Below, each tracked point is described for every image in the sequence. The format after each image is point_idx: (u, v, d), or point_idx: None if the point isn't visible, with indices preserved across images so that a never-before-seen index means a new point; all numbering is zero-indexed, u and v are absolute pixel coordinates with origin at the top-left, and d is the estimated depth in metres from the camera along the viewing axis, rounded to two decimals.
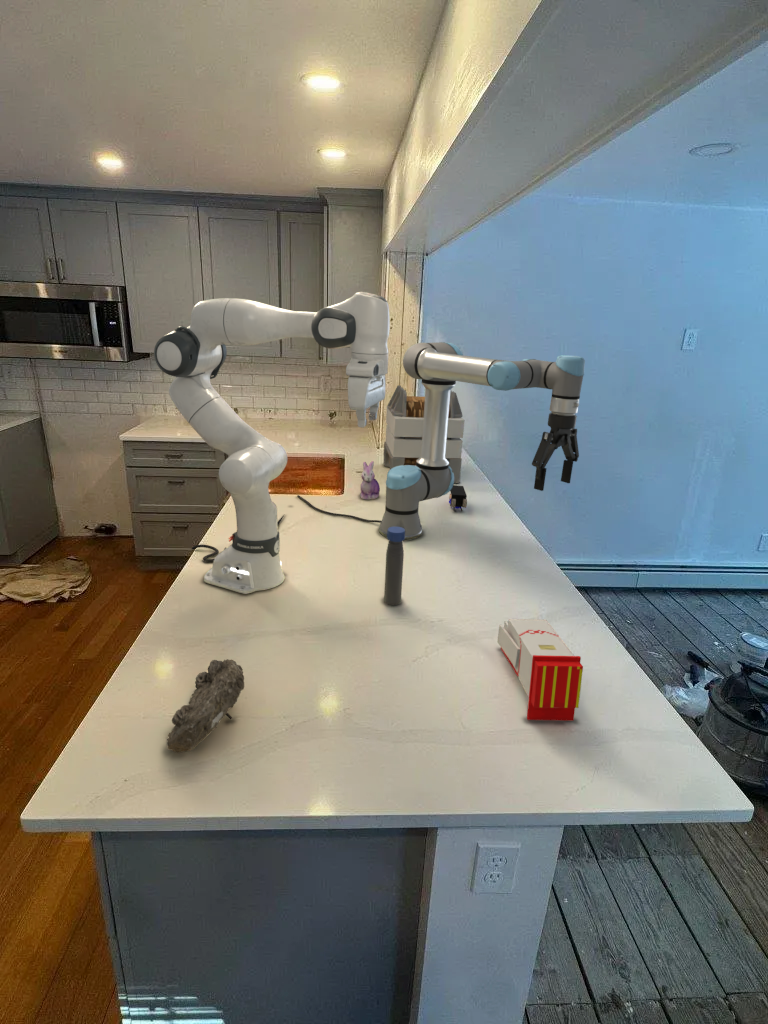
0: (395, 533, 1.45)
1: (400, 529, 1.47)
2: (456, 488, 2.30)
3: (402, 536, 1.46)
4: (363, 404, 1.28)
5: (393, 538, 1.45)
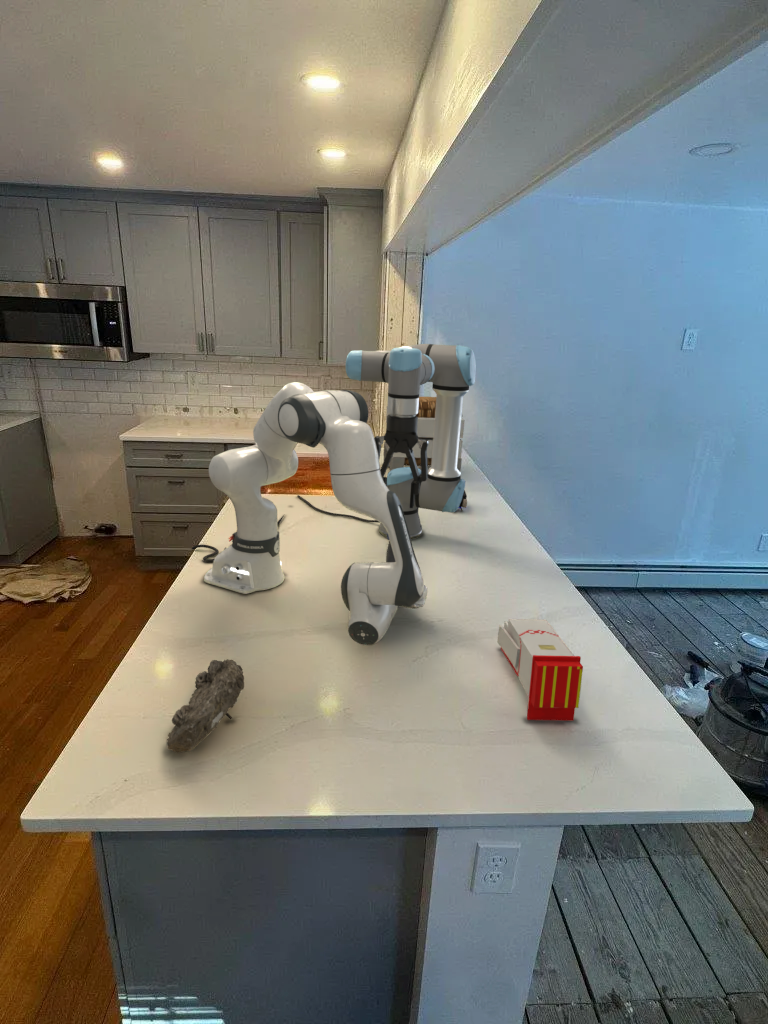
0: None
1: None
2: None
3: None
4: None
5: None
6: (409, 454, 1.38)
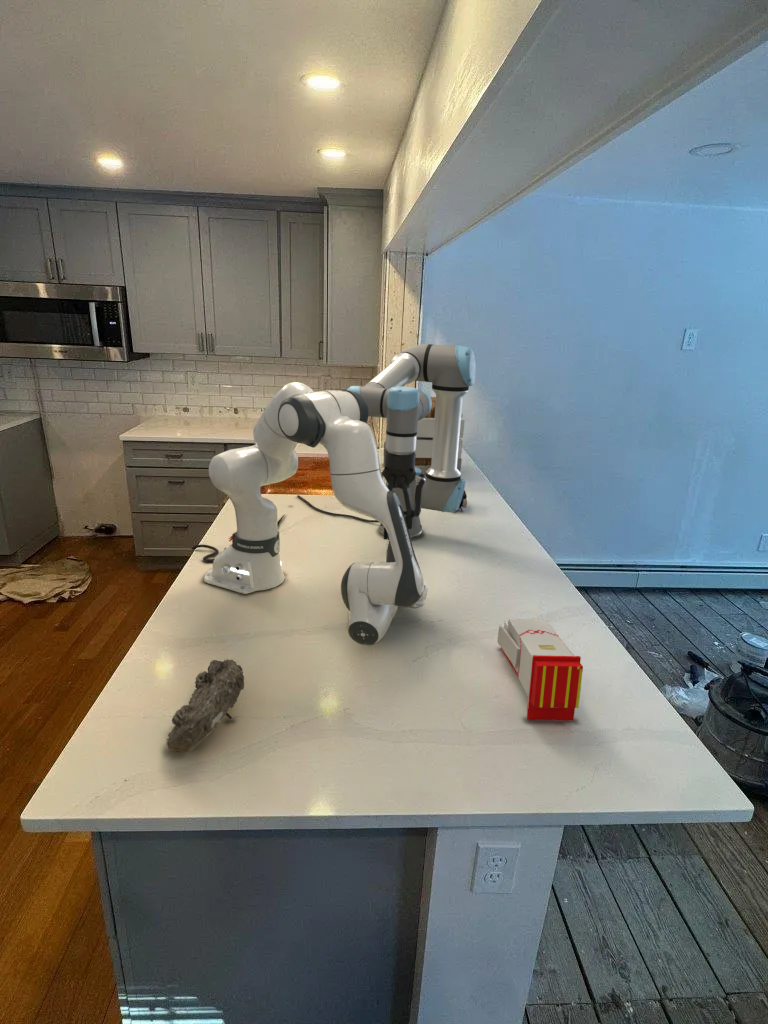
0: None
1: None
2: None
3: None
4: None
5: None
6: (406, 490, 1.41)
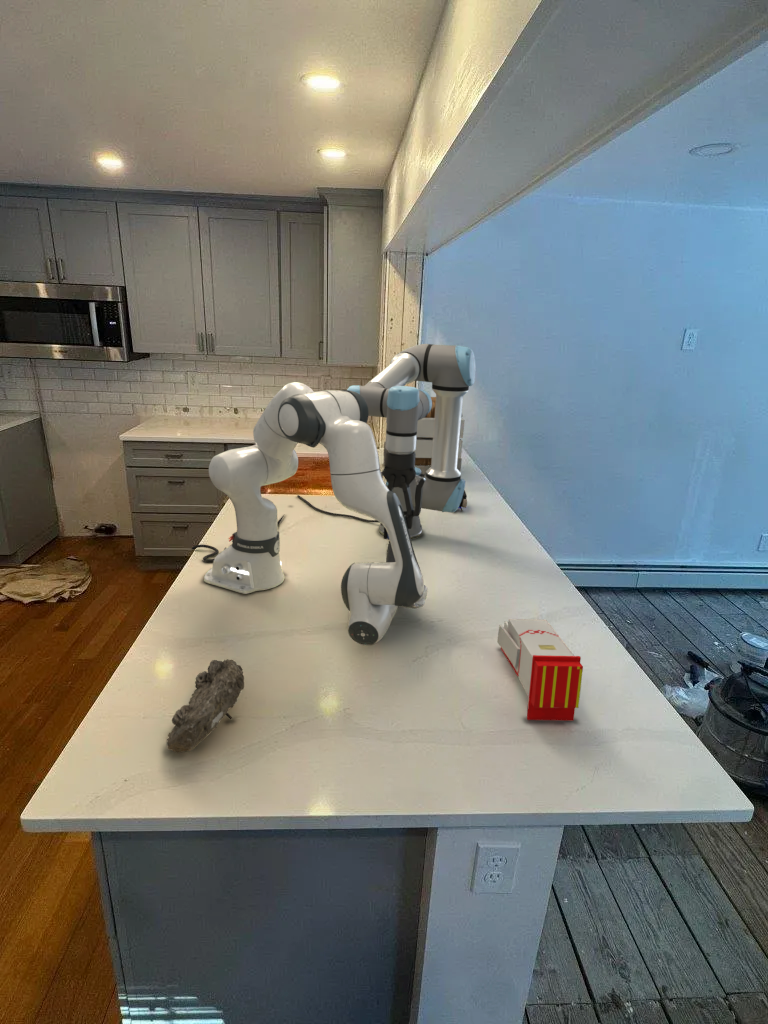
0: None
1: None
2: None
3: None
4: None
5: None
6: (406, 489, 1.41)
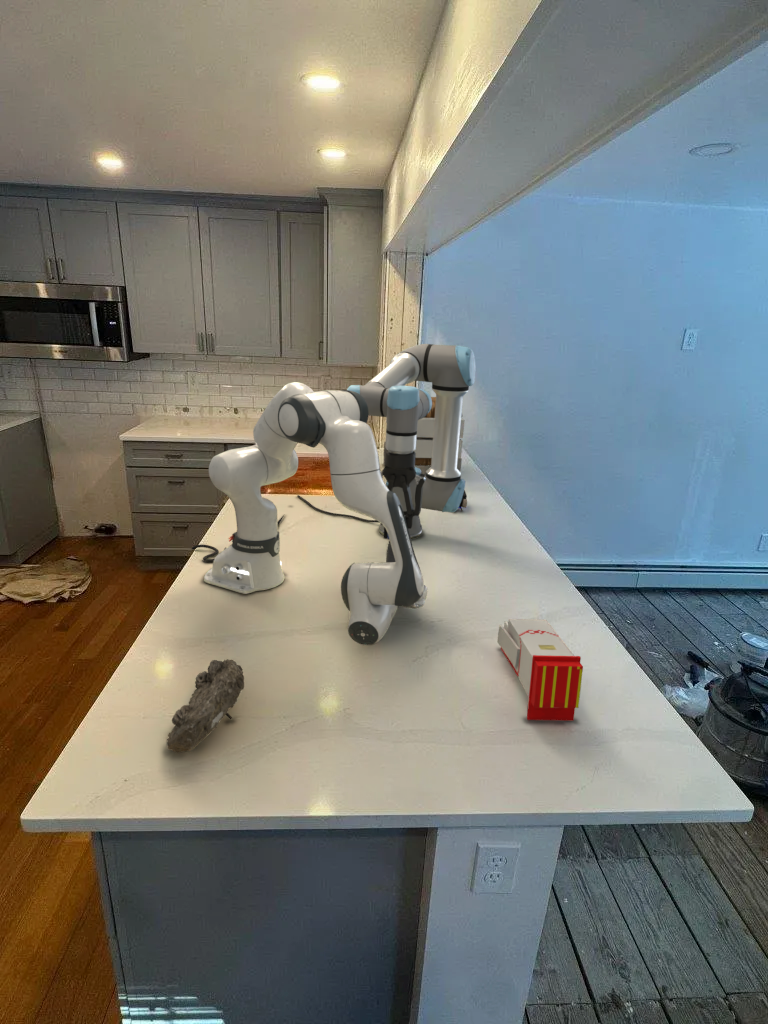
0: None
1: None
2: None
3: (387, 532, 1.47)
4: None
5: None
6: (406, 489, 1.41)
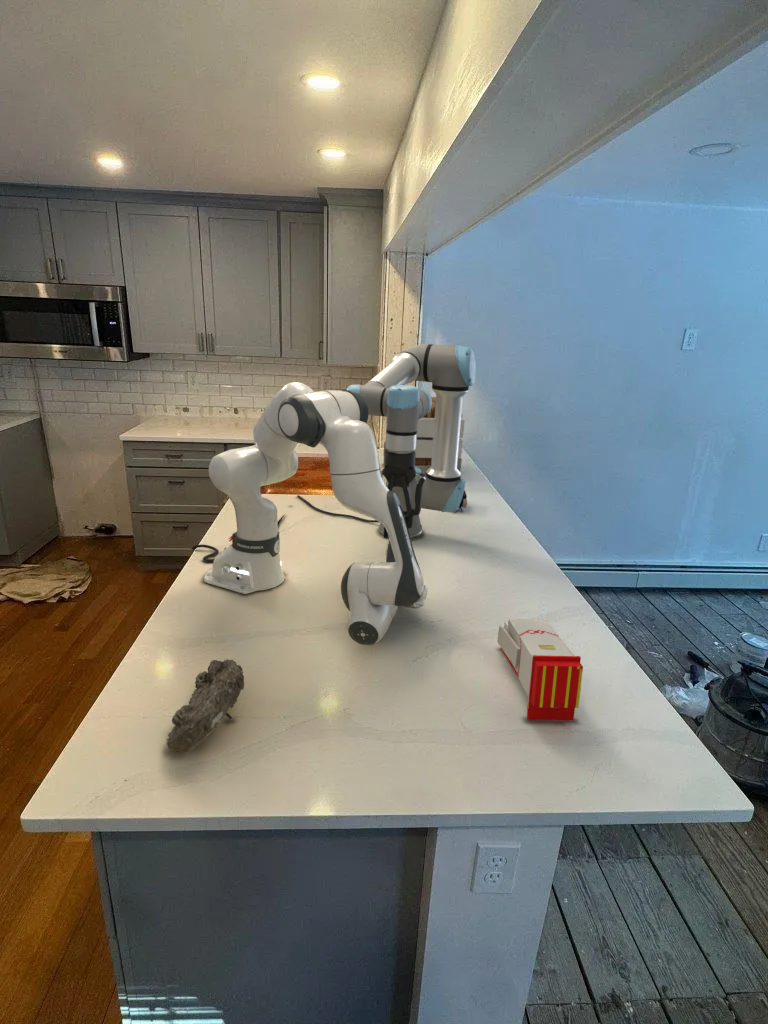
0: None
1: None
2: None
3: None
4: None
5: None
6: (406, 489, 1.41)
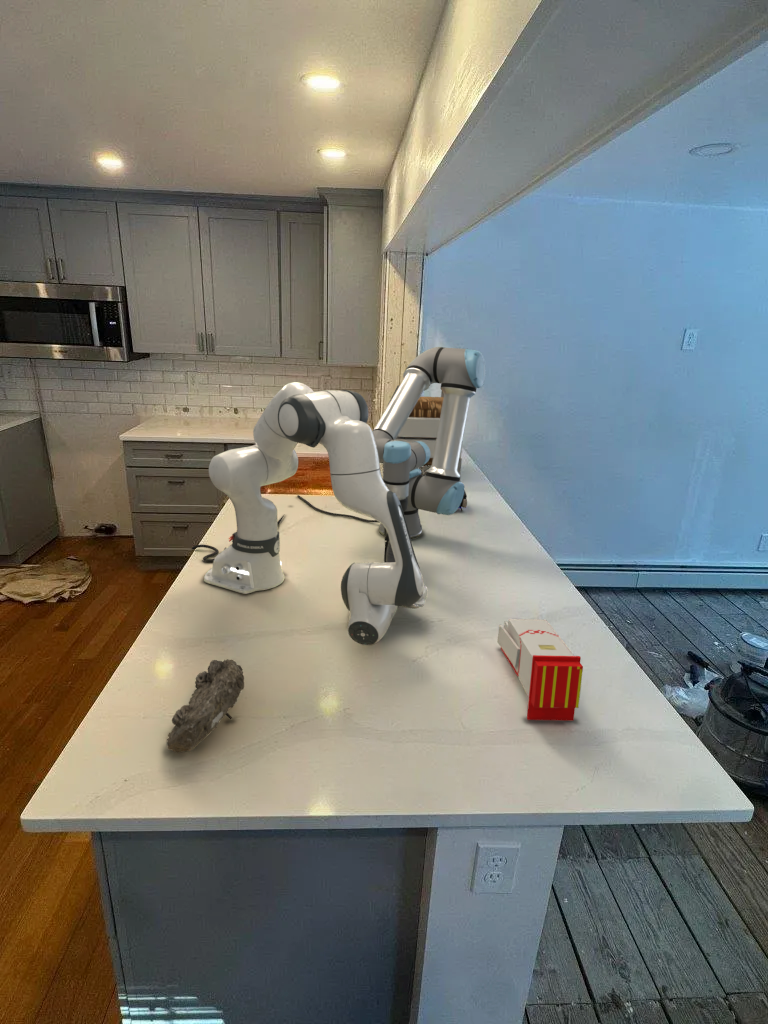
0: None
1: None
2: None
3: None
4: None
5: None
6: None
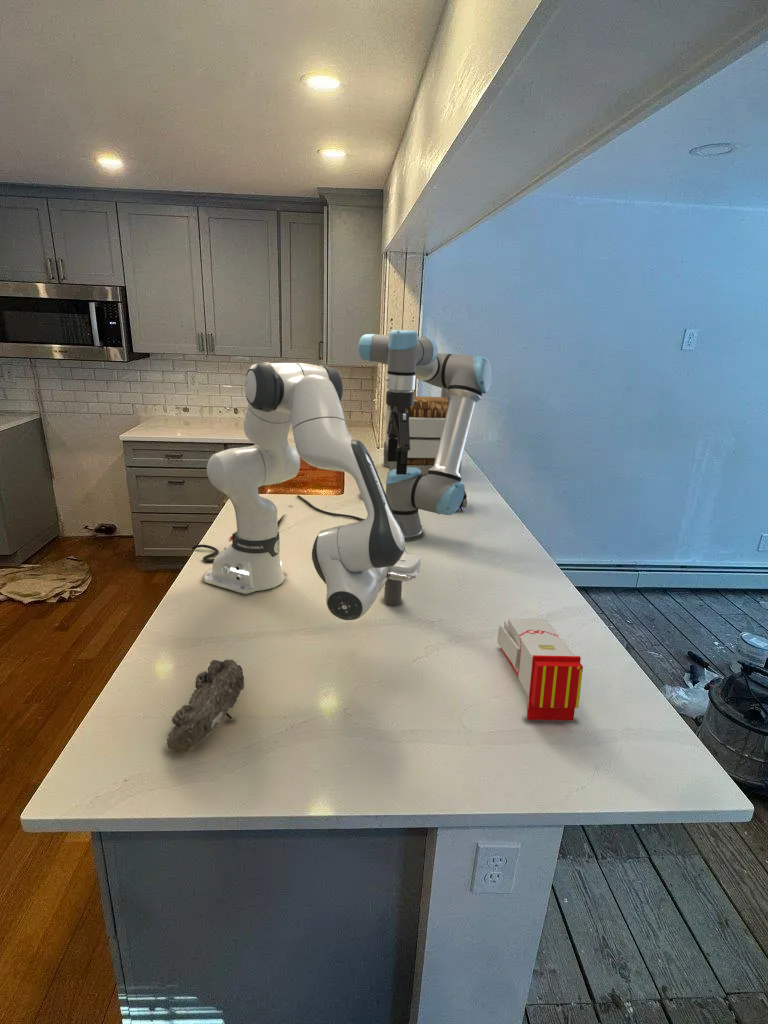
0: None
1: None
2: None
3: None
4: None
5: None
6: None
